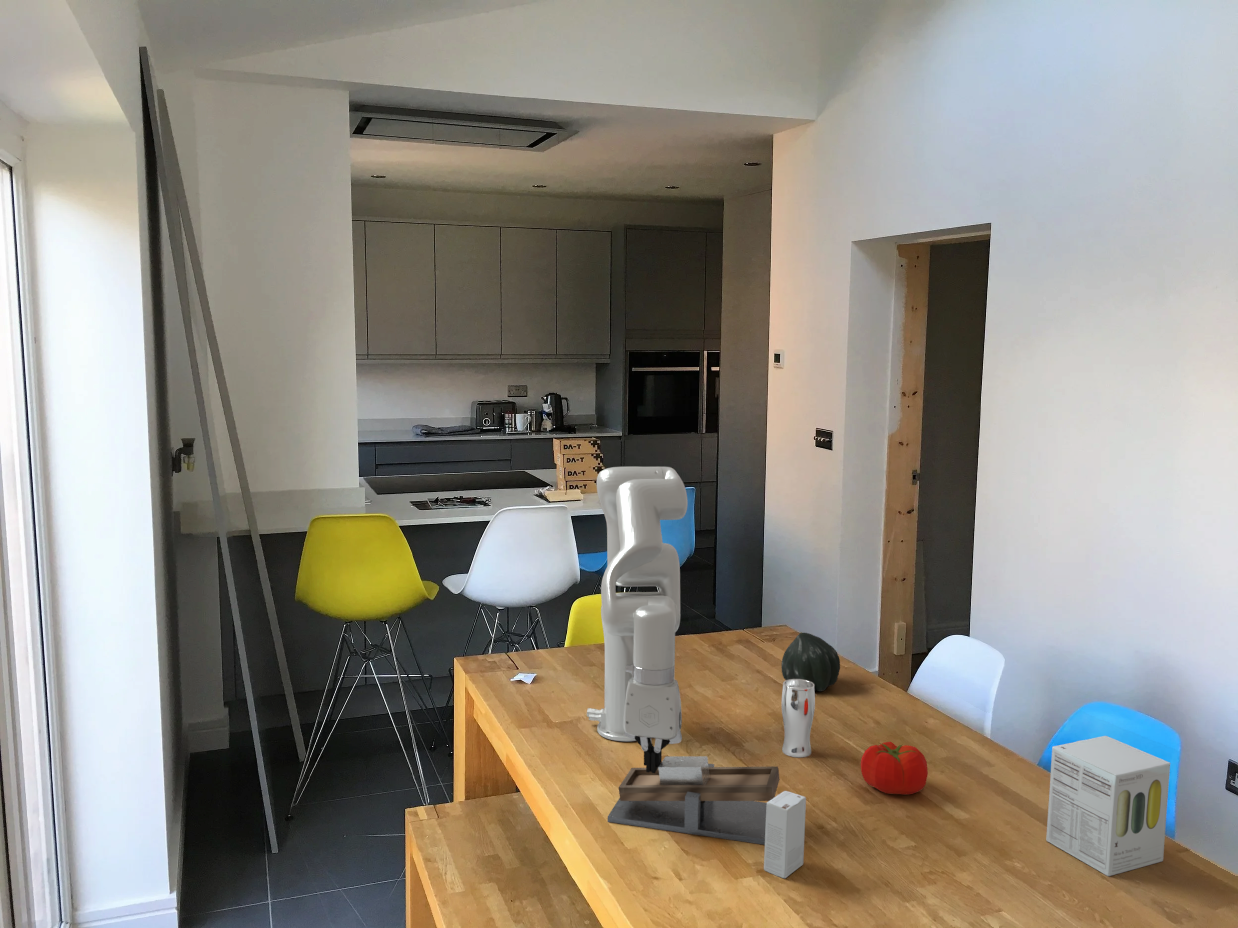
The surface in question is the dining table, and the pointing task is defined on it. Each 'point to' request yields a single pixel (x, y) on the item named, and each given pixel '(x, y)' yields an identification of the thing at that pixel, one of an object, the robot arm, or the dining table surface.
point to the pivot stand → (697, 817)
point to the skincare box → (784, 834)
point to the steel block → (684, 770)
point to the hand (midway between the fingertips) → (652, 769)
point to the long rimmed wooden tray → (718, 788)
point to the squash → (811, 661)
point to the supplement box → (1108, 804)
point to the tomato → (894, 768)
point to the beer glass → (797, 716)
